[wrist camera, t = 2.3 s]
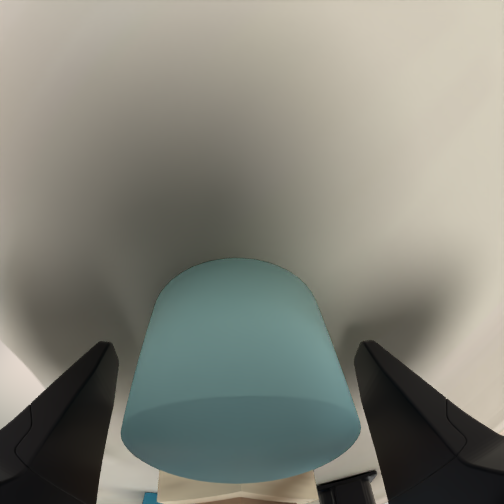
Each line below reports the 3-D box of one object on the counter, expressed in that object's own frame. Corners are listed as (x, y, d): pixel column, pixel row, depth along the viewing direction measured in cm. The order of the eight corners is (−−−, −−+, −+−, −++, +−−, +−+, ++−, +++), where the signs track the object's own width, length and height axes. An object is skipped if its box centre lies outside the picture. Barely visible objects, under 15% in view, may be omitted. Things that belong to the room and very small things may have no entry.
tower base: (311, 462, 15) (318, 499, 12) (235, 485, 17) (236, 516, 14) (238, 439, 12) (241, 491, 10) (160, 463, 14) (156, 502, 11)
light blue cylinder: (319, 366, 11) (347, 465, 7) (183, 386, 11) (174, 484, 7) (315, 241, 8) (379, 365, 4) (127, 274, 8) (72, 397, 4)
